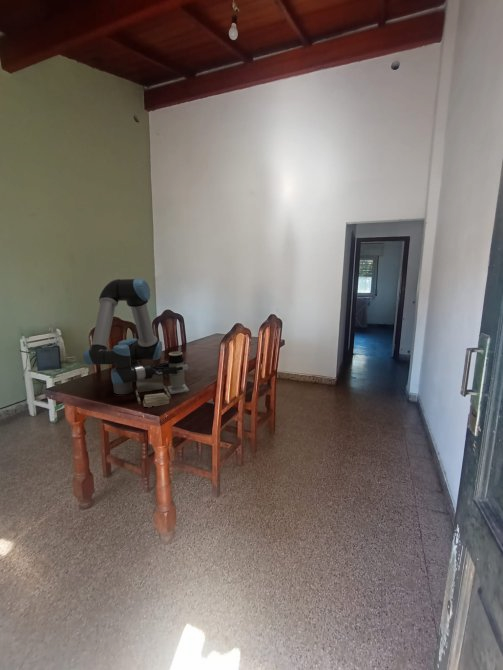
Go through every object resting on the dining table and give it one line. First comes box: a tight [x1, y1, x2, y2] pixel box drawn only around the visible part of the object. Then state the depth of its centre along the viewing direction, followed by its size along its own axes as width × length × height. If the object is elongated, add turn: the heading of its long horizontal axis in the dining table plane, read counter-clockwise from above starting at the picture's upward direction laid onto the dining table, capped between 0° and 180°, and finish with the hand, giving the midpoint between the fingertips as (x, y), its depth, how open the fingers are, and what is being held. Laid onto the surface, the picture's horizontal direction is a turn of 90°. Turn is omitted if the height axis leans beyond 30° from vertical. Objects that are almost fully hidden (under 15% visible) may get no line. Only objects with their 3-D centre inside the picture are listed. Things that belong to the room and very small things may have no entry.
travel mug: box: [168, 351, 186, 387], centre depth 186 cm, size 8×8×18 cm
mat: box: [166, 383, 190, 395], centre depth 188 cm, size 10×10×1 cm
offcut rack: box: [135, 374, 172, 408], centre depth 177 cm, size 26×16×10 cm, turn 24°
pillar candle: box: [110, 367, 134, 395], centre depth 184 cm, size 10×10×15 cm
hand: (184, 365), depth 188 cm, fingers closed on travel mug, 8 cm apart
